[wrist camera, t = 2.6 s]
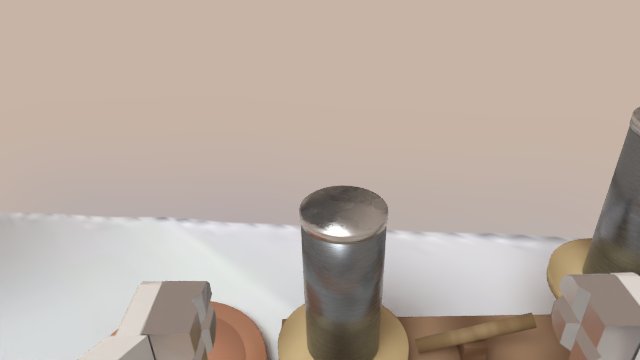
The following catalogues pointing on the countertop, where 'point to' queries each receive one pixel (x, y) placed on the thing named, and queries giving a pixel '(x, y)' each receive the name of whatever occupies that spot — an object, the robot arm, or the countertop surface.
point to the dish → (235, 336)
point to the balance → (460, 328)
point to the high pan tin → (620, 214)
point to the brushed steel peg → (343, 271)
